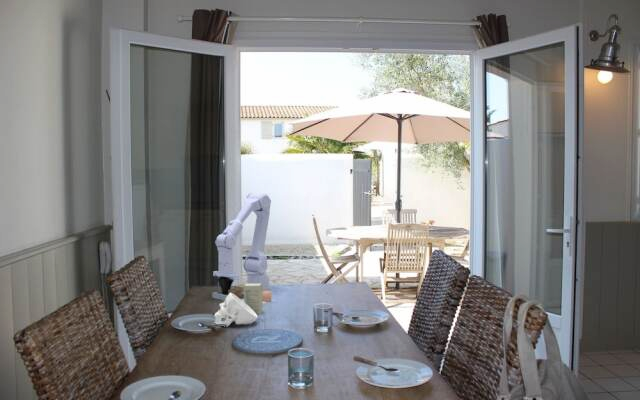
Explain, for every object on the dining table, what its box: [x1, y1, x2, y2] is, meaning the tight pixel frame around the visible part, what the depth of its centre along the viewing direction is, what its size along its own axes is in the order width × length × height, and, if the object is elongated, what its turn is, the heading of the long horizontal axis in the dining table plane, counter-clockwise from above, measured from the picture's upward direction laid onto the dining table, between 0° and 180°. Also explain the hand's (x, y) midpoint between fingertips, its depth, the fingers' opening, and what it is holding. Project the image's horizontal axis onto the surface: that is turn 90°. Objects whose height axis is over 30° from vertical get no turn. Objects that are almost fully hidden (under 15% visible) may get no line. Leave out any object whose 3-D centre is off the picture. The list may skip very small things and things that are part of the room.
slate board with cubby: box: [211, 290, 278, 305], centre depth 249 cm, size 15×24×4 cm, turn 47°
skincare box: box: [243, 283, 264, 315], centre depth 226 cm, size 6×4×12 cm
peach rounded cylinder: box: [262, 289, 272, 303], centre depth 245 cm, size 4×4×4 cm
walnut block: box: [228, 287, 242, 300], centre depth 248 cm, size 4×4×4 cm
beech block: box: [234, 284, 245, 293], centre depth 257 cm, size 4×4×4 cm
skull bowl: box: [213, 293, 258, 327], centre depth 215 cm, size 10×14×12 cm
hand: (225, 295), depth 252 cm, fingers closed
